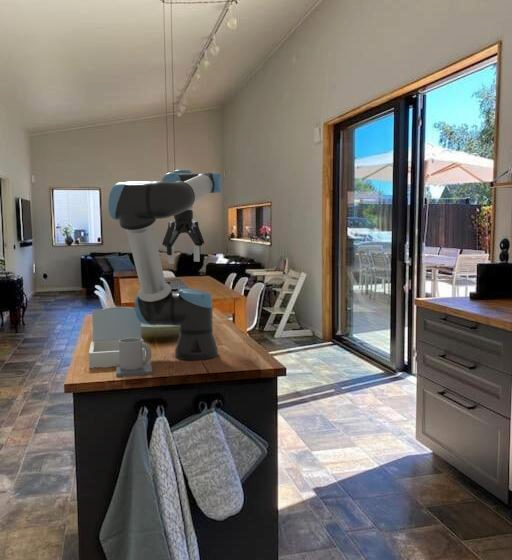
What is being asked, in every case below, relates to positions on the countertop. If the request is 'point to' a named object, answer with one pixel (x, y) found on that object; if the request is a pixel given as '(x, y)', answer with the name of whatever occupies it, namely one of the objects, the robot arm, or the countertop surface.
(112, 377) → the countertop surface
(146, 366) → the slate tile
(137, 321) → the cold frame
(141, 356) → the cup
